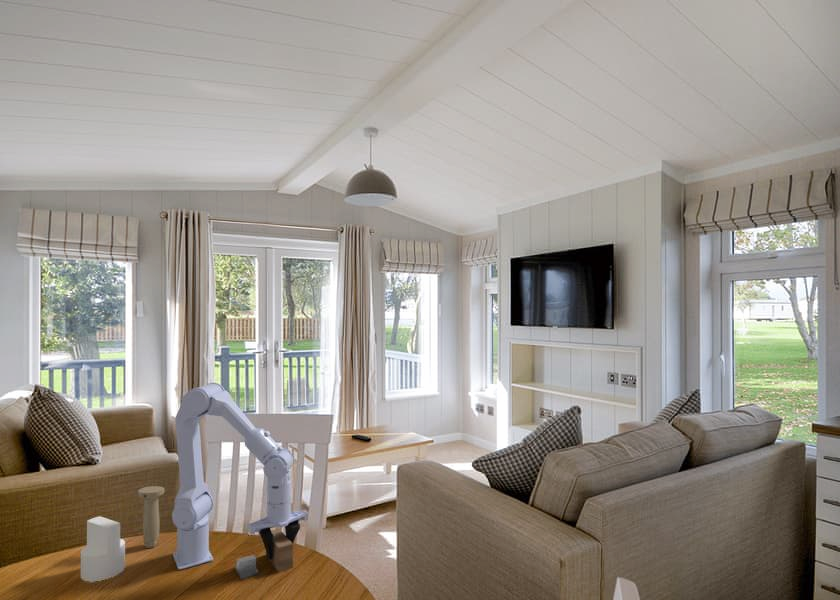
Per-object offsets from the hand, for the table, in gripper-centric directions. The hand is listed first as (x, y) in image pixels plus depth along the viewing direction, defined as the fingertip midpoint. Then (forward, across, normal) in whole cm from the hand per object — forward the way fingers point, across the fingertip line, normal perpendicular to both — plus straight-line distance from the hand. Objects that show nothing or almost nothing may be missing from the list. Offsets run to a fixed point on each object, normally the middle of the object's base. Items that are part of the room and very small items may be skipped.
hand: (279, 554), depth 123 cm
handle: (+2, -26, +28) cm, 38 cm away
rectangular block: (+2, 0, 0) cm, 2 cm away
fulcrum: (+2, -8, 0) cm, 8 cm away
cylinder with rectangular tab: (+2, -36, +20) cm, 41 cm away
